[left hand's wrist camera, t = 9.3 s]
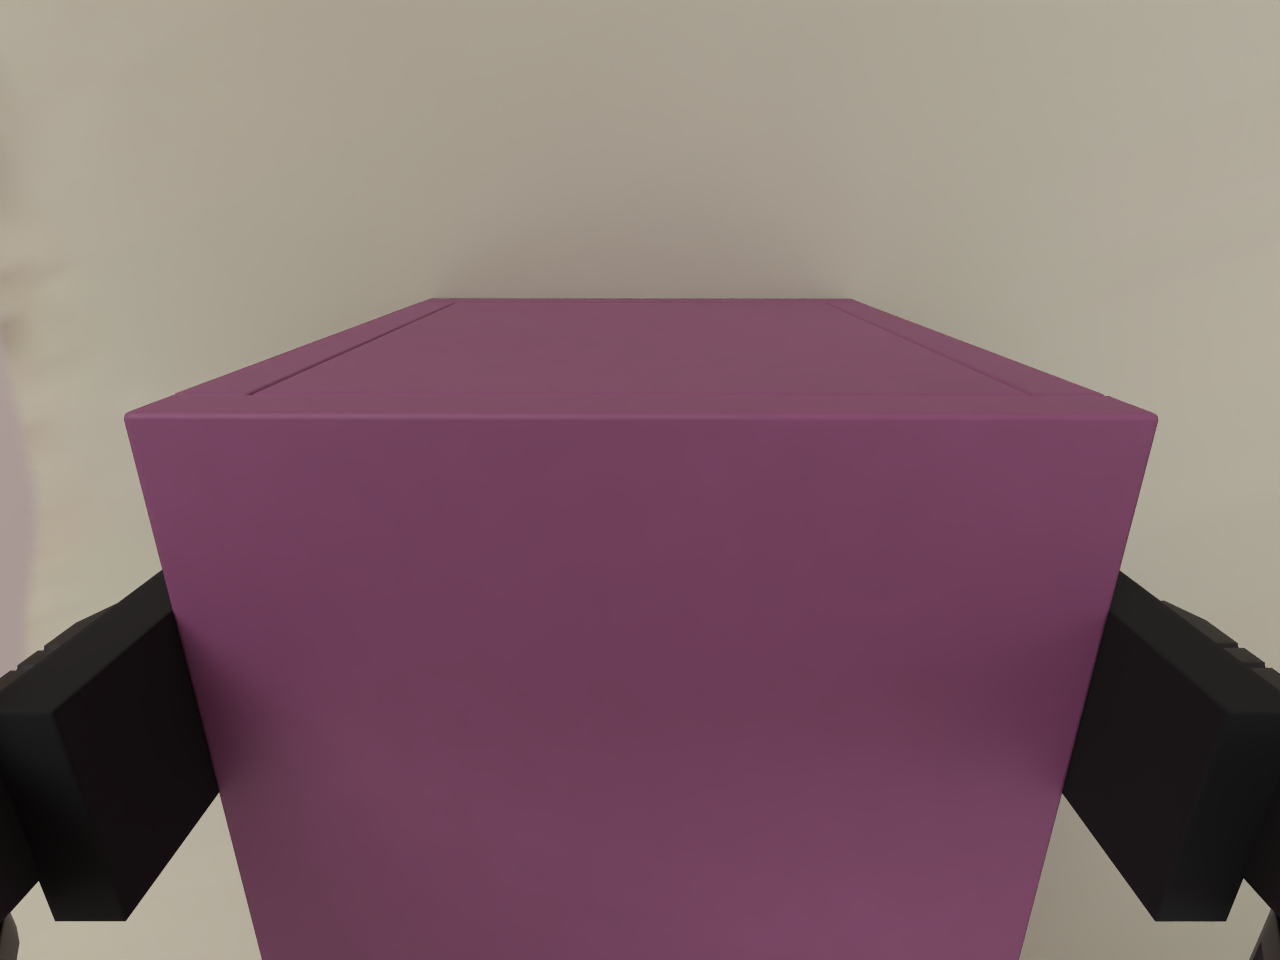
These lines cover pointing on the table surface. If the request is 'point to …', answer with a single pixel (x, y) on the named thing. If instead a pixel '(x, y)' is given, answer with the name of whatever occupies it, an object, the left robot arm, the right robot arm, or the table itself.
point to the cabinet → (640, 627)
